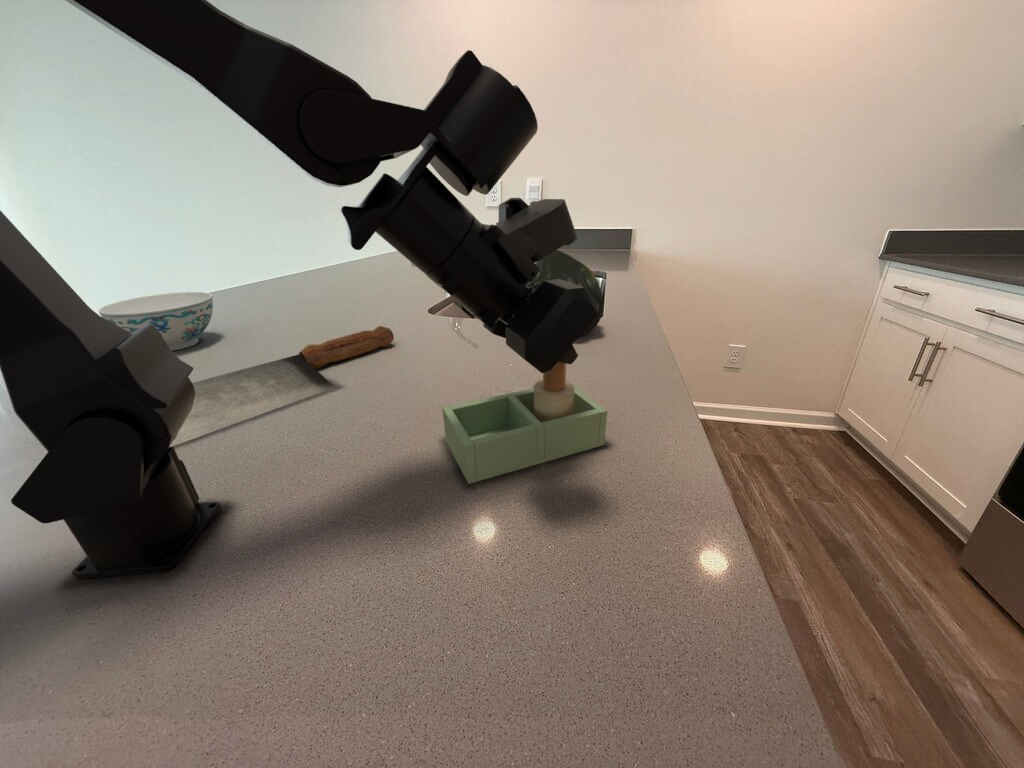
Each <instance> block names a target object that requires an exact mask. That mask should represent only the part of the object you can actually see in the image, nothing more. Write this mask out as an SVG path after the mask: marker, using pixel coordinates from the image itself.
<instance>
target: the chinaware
mask: <svg viewBox="0 0 1024 768" xmlns="http://www.w3.org/2000/svg"><path fill="white" fill-rule="evenodd" d="M213 311H214V299H213V295H212V294H211V293H209V292H203V291H181V292H169V293H160V294H152V295H146V296H139V297H134V298H128V299H124V300H120V301H115V302H113V303H109V304H107V305H104V306H102V307H100V308H99V309H98V313H99V316H101V317H103V318H104V319H106V320H108V321H110V322H112V323H114V324H116V325H118V326H119V327H121V328H123V329H125V330H127V331H129V332H131V333H133V332H135V331H137V330H138V329H140V328H142V327H143V326H145V325H146V324H153V325H154V326H155V327H156V328H157V330H158V331H159V332H160V333H161V335H162V336H163V338H164V340H165V341H166V343H167V345H168V347H169V348H170V349H171V351H172V352H173V351H177V350H181V349H182V350H183V349H185V348H190V347H192V346H194V345H196V344H197V343H199V336H200V335H202V333H203V332H204V331H205V330H206V329H207V327H208V326H209V324H210V322H211V319H212V316H213Z"/></svg>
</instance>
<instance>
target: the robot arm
mask: <svg viewBox="0 0 1024 768" xmlns="http://www.w3.org/2000/svg"><path fill="white" fill-rule="evenodd" d="M64 1H65V2H67V3H68V4H70V5H71V6H73V7H74V8H76V9H78V10H79V11H81V12H83V14H85V15H86V16H89V17H90V18H92V19H93V20H95V21H96V22H97V23H100V24H101V25H103V26H104V27H106V28H107V29H109V30H110V31H112V32H114V34H117V35H118V36H120V37H122V38H123V39H125V40H126V41H128V42H129V43H131V44H132V45H134V46H136V47H137V48H139V50H142V51H143V52H145V53H146V54H148V55H149V56H151V57H153V58H154V59H156V60H158V61H159V62H160V63H162V64H163V65H165V66H166V67H168V68H170V69H171V70H173V71H174V72H176V73H177V74H179V75H180V76H182V77H184V78H185V79H187V80H188V81H190V82H191V83H193V84H195V85H196V86H198V87H199V88H201V89H202V90H204V91H205V92H207V93H208V94H210V95H211V97H213V98H215V99H216V100H217V101H218V102H219V103H220V104H222V105H223V106H224V107H225V108H226V109H228V110H229V111H230V112H231V113H233V114H234V115H235V116H236V117H237V118H238V119H239V120H240V121H242V122H243V123H244V124H245V125H247V126H248V127H249V128H250V129H251V130H252V131H254V132H255V133H256V134H257V135H258V136H259V137H261V138H262V139H263V140H264V141H265V142H266V143H267V144H269V145H270V146H271V147H273V149H275V150H276V151H277V152H278V153H280V154H281V155H282V156H283V157H284V158H286V159H287V160H288V161H289V162H290V163H291V164H293V165H294V166H296V167H297V168H298V169H299V170H300V171H301V172H303V173H304V174H305V175H306V176H307V177H309V178H310V179H312V180H314V181H315V182H318V183H320V184H322V185H325V186H326V187H327V186H329V187H333V188H343V187H348V186H353V185H356V184H359V183H361V182H363V181H364V180H365V179H368V178H369V177H371V176H372V175H373V173H375V171H376V169H377V168H378V167H379V165H380V164H381V162H385V161H390V160H394V159H398V158H399V157H402V156H404V155H405V154H408V153H410V152H412V151H414V150H416V149H417V148H419V147H420V146H421V147H422V149H421V150H420V152H419V153H418V154H417V155H416V157H415V158H414V159H413V161H412V162H411V164H409V166H408V167H407V168H406V169H405V170H404V172H403V173H402V174H401V175H400V177H399V178H398V179H396V178H394V177H393V176H392V175H390V174H388V173H386V172H385V173H382V174H381V176H380V178H379V179H377V181H376V182H375V183H374V185H373V186H372V188H371V189H370V190H369V191H368V192H367V194H366V195H365V196H364V198H363V199H362V201H361V202H360V203H359V204H358V205H356V206H355V205H354V206H351V205H350V206H349V205H342V206H340V208H339V211H340V214H341V215H342V217H343V219H344V222H345V225H346V229H347V241H348V243H349V245H350V246H351V247H352V249H353V250H355V251H360V250H362V249H363V248H364V247H365V246H366V244H367V243H368V242H369V241H370V239H371V238H372V237H373V235H374V234H375V233H376V234H377V235H378V236H379V237H381V238H382V239H383V240H384V241H385V242H387V243H388V244H389V245H390V246H392V247H393V248H394V249H395V250H396V251H397V252H398V253H400V254H401V255H402V256H403V257H405V258H406V260H408V262H410V263H411V264H413V265H414V266H415V267H416V268H417V269H419V270H420V271H421V272H422V273H423V274H424V275H426V277H427V278H428V279H429V280H430V281H432V282H433V283H434V284H435V285H436V286H438V287H439V288H441V289H442V290H443V291H445V293H447V294H448V295H449V296H451V301H452V304H453V305H454V306H456V307H457V308H458V309H460V311H462V312H463V313H464V314H465V315H466V316H468V317H469V318H471V319H472V320H474V319H475V318H476V319H477V320H478V321H480V322H481V323H483V325H482V326H483V328H484V329H486V330H487V331H488V332H489V333H491V334H493V335H494V336H498V337H500V338H502V339H503V338H504V339H505V345H506V346H507V347H509V348H510V349H511V350H512V351H513V352H514V353H516V354H517V355H518V356H520V357H521V358H522V359H523V360H524V361H526V362H527V364H529V365H531V366H532V367H533V368H534V369H536V370H537V371H538V372H539V373H541V374H543V373H544V372H547V371H550V370H551V369H552V368H553V367H554V366H555V364H556V363H557V362H562V363H566V365H572V364H574V363H575V361H576V360H577V359H578V357H579V355H578V352H577V351H576V348H575V346H574V343H575V342H576V340H577V339H578V338H579V337H580V336H581V335H582V334H581V333H582V332H583V331H584V329H585V328H586V327H587V326H588V325H589V323H590V322H591V321H592V320H593V319H594V317H595V316H596V315H597V314H598V312H599V304H598V303H597V302H596V300H595V299H594V298H593V297H592V296H591V295H590V294H589V293H588V291H587V290H586V289H585V288H584V287H581V286H578V285H575V284H572V283H569V282H566V281H563V280H561V279H555V280H546V281H543V282H542V283H536V284H534V282H532V280H533V279H534V278H535V277H536V275H537V274H538V273H539V272H540V271H541V270H540V268H539V267H538V266H537V265H536V262H537V261H539V260H541V259H543V258H545V257H546V256H548V255H549V254H551V253H553V252H554V251H556V250H559V249H561V248H562V247H564V246H570V245H572V244H573V243H575V242H576V240H577V239H578V235H577V232H576V229H575V225H574V223H573V220H572V216H571V214H570V211H569V208H568V206H567V202H566V200H565V199H564V198H563V199H562V198H543V199H540V200H532V201H531V202H530V203H529V204H530V205H529V204H527V203H526V202H525V201H524V200H523V199H522V198H521V197H510V198H507V200H504V201H503V202H501V203H499V204H498V221H497V222H496V223H495V224H485V223H482V222H480V220H479V219H478V218H477V217H476V216H475V215H474V214H473V213H472V212H471V211H470V210H469V209H468V208H467V207H466V206H465V205H464V204H463V203H462V202H461V201H460V200H459V199H458V198H457V197H456V195H454V194H453V192H451V190H449V188H448V187H447V186H446V185H445V184H444V183H443V182H442V181H441V180H440V179H439V178H438V177H437V176H436V175H435V174H434V173H433V171H431V170H430V169H429V167H427V166H428V165H430V166H431V168H433V169H434V170H435V172H436V174H438V176H440V178H441V179H443V181H444V182H446V184H448V185H449V186H450V187H451V188H453V190H455V191H456V192H458V193H459V194H461V195H462V196H465V197H468V196H470V194H471V193H472V192H473V191H475V192H477V193H479V194H482V195H484V196H485V195H488V194H489V193H490V192H491V190H493V189H494V187H495V186H496V185H497V183H498V182H499V181H500V180H501V178H502V177H503V176H504V174H505V173H506V172H507V170H508V169H509V168H511V166H512V164H513V163H514V162H515V161H516V159H517V158H518V157H519V155H520V154H521V153H522V152H523V150H524V149H525V148H526V147H527V146H528V144H529V143H530V142H531V140H532V139H533V138H534V137H535V136H536V134H537V132H538V129H539V127H538V119H537V116H536V113H535V110H534V108H533V107H532V105H531V103H530V101H529V100H528V98H527V96H526V95H525V94H524V92H523V91H522V90H521V88H520V87H519V86H518V85H516V84H514V85H513V84H512V83H511V82H510V81H509V80H508V79H507V78H506V77H505V76H504V75H502V73H500V72H499V71H497V70H495V69H494V68H493V67H490V66H487V65H483V63H482V62H481V61H480V60H479V58H478V57H477V55H476V54H475V53H474V51H473V50H466V51H465V52H464V53H463V54H462V55H461V56H460V57H459V58H458V59H457V60H456V62H455V63H454V65H452V67H451V68H450V70H449V71H448V73H447V75H446V78H445V80H444V83H443V84H442V85H441V87H440V88H439V89H438V91H437V92H436V93H435V94H434V96H433V97H432V98H431V99H430V101H429V103H427V104H426V106H425V107H424V108H423V109H421V108H418V107H417V108H416V107H412V106H409V105H408V106H407V105H403V104H399V103H394V102H390V101H386V100H380V99H376V98H372V96H371V95H370V94H369V93H368V92H367V90H365V89H364V88H363V86H361V85H360V84H359V82H358V81H356V80H355V79H353V78H351V77H350V76H348V75H347V74H345V73H343V72H341V71H340V70H339V69H336V68H334V67H333V66H331V65H329V64H328V63H325V62H324V61H322V60H320V59H318V58H317V57H315V56H313V55H311V54H309V53H308V52H307V51H304V50H302V49H301V48H299V47H297V46H296V45H294V44H292V43H289V42H288V41H285V40H283V39H280V38H278V37H276V36H273V35H271V34H269V33H265V32H263V31H261V30H259V29H256V28H254V27H251V26H250V25H247V24H245V23H243V22H242V21H240V20H238V19H237V18H235V17H233V16H231V15H229V14H227V13H226V12H225V11H222V10H220V9H219V8H218V7H216V6H215V5H214V4H212V3H211V2H209V1H208V0H64ZM580 334H581V335H580ZM193 370H194V367H193V366H192V365H190V364H189V363H186V362H185V361H183V360H182V359H180V357H178V356H177V355H176V354H175V352H173V350H172V351H171V349H170V348H169V347H168V345H167V343H166V341H165V340H164V338H163V336H162V335H161V333H160V332H159V331H158V330H157V328H156V327H155V326H154V325H153V324H146V325H145V326H143V327H142V328H140V329H138V330H137V331H135V332H133V333H131V332H129V331H127V330H125V329H123V328H121V327H119V326H118V325H116V324H114V323H112V322H110V321H108V320H106V319H104V318H103V317H102V316H101V315H100V314H98V313H97V312H95V310H94V309H92V308H91V307H90V306H89V305H88V304H87V303H86V302H85V301H84V300H83V298H81V296H80V295H79V294H78V293H77V292H76V291H75V290H74V289H73V288H72V287H71V285H69V283H68V282H67V281H66V280H65V279H64V278H63V277H62V276H61V275H60V273H58V272H57V271H56V269H55V268H54V267H53V266H52V264H50V263H49V262H48V260H47V259H46V258H45V257H44V256H43V255H42V253H40V252H39V251H38V250H37V249H36V247H35V246H34V245H33V244H32V242H30V241H29V240H28V238H26V237H25V235H23V233H22V232H21V231H20V230H19V229H18V227H16V225H15V224H14V223H13V222H12V221H11V220H10V219H9V218H8V217H7V215H5V213H3V212H2V210H1V209H0V373H1V376H2V379H3V382H4V384H5V387H6V391H7V394H8V398H9V400H10V403H11V406H12V409H13V411H14V413H15V415H16V416H17V417H18V418H19V419H20V421H21V422H22V423H23V424H24V426H25V427H26V428H27V429H28V430H29V432H30V433H31V434H32V435H33V436H34V437H35V439H36V440H37V441H38V442H39V443H40V444H41V445H42V447H43V448H44V449H45V451H47V453H46V454H45V455H44V457H43V458H42V459H41V461H39V463H38V464H37V465H36V467H35V468H34V470H32V472H31V473H30V474H29V476H28V477H27V479H26V480H25V481H24V482H23V484H22V485H20V488H19V489H18V490H17V491H16V492H15V493H14V495H13V497H12V498H11V500H10V502H11V504H12V505H13V506H15V507H16V508H18V509H19V510H21V511H22V512H24V513H25V514H27V515H28V516H30V517H31V518H33V519H35V520H36V521H38V522H39V523H41V524H50V523H51V524H52V523H54V522H59V521H64V523H65V524H66V526H67V527H68V529H69V530H70V532H71V534H72V535H73V536H74V539H75V540H76V541H77V543H78V545H79V546H80V548H81V549H82V550H83V553H85V555H86V557H85V558H84V559H83V560H82V561H81V562H80V563H79V564H78V565H77V566H75V567H74V568H73V570H72V571H71V575H72V576H73V578H74V579H77V580H81V579H92V578H103V577H112V576H113V577H116V576H123V575H125V576H126V575H137V574H148V573H157V572H158V573H160V572H167V571H169V570H172V569H173V568H175V567H176V566H177V565H178V564H179V563H180V561H181V560H182V559H183V557H185V555H186V554H187V552H188V551H189V550H190V548H191V547H192V546H193V545H194V544H195V542H196V541H197V539H199V537H200V536H201V535H202V533H203V532H204V531H205V530H206V528H207V527H208V526H209V524H210V523H211V522H212V521H213V519H214V518H215V517H216V516H217V514H218V513H219V511H221V509H222V505H221V503H220V502H219V501H208V502H206V501H205V502H199V501H200V497H199V494H198V492H197V490H196V488H195V486H194V484H193V481H192V479H191V476H190V475H189V472H188V470H187V468H186V465H185V462H184V461H183V460H182V459H180V458H179V456H178V454H177V451H176V449H175V447H174V446H172V447H170V445H171V444H172V442H173V440H174V439H175V438H176V436H177V433H178V432H179V430H180V428H181V427H182V425H183V423H184V421H185V420H186V418H187V416H188V415H189V413H190V411H191V410H192V406H193V403H194V399H195V389H194V386H193V384H192V383H193V382H192V381H191V379H190V377H189V376H190V375H191V373H192V372H193Z"/></svg>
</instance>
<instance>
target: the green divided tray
mask: <svg viewBox="0 0 1024 768" xmlns="http://www.w3.org/2000/svg"><path fill="white" fill-rule="evenodd" d="M573 386H574V404H573V415H570V416H566V417H561V418H557V419H553V420H549V421H545V422H542V423H541V422H540V421H539V420H538V419H537V418H536V417H535V416H534V387H533V388H527V389H523V390H519V391H515V392H512V393H511V392H510V393H506V394H501V395H496V396H490V397H487V398H482V399H476V400H472V401H468V402H463V403H459V404H453V405H450V406H445V407H442V417H443V427H444V435H445V436H444V437H445V442H446V444H447V446H448V448H449V450H450V452H451V454H452V456H453V457H454V460H455V461H456V463H457V465H458V467H459V469H460V471H461V472H462V475H463V477H464V478H465V480H466V482H467V484H468V485H471V484H475V483H478V482H481V481H484V480H487V479H492V478H494V477H498V476H501V475H505V474H509V473H512V472H515V471H520V470H522V469H526V468H529V467H533V466H537V465H540V464H543V463H547V462H550V461H554V460H557V459H561V458H564V457H567V456H571V455H575V454H578V453H582V452H585V451H588V450H589V451H590V450H591V449H595V448H598V447H602V446H605V441H606V429H607V420H608V419H607V418H608V410H607V409H606V408H604V407H603V406H601V405H600V404H599V403H597V401H595V400H594V399H592V398H591V397H589V396H588V395H587V394H585V393H584V392H583V391H582V390H580V389H579V388H577V387H576V386H575V385H573Z"/></svg>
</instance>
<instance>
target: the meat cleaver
mask: <svg viewBox="0 0 1024 768" xmlns="http://www.w3.org/2000/svg"><path fill="white" fill-rule="evenodd" d="M394 338H395V336H394V332H393V331H392V330H391V328H390V327H386V326H381V325H379V326H377V327H376V328H374V329H373V330H362V331H359V332H356V333H351V334H347V335H343V336H339V337H336V338H334V339H329V340H326V341H324V342H322V343H318V344H316V343H315V344H314V343H313V344H307V345H306V346H305V347H304V348H302V349H301V350H300V351H299V352H298V354H296V355H291V356H287V357H283V358H280V359H276V360H273V361H269V362H266V363H262V364H258V365H254V366H250V367H247V368H243V369H239V370H236V371H231V372H228V373H224V374H220V375H216V376H213V377H209V378H204V379H202V380H198V381H193V382H192V384H193V386H194V389H195V399H194V403H193V406H192V410H191V411H190V413H189V415H188V416H187V418H186V420H185V421H184V423H183V425H182V427H181V428H180V430H179V432H178V433H177V436H176V438H175V439H174V440H173V442H172V444H171V445H170V447H174V446H178V445H180V444H182V443H185V442H188V441H191V440H193V439H196V438H199V437H201V436H205V435H207V434H210V433H212V432H216V431H218V430H221V429H224V428H227V427H229V426H231V425H232V426H233V425H234V424H237V423H241V422H243V421H246V420H248V419H251V418H253V417H256V416H260V415H262V414H266V413H268V412H270V411H273V410H276V409H278V408H282V407H284V406H287V405H290V404H293V403H295V402H298V401H301V400H303V399H307V398H308V397H312V396H314V395H317V394H320V393H322V392H325V391H328V390H331V389H333V388H335V385H334V384H333V383H331V382H330V381H329V380H328V379H327V378H326V377H325V376H323V374H322V373H320V371H318V370H319V369H321V368H322V367H323V366H325V365H327V364H332V363H337V362H340V361H344V360H347V359H350V358H353V357H357V356H360V355H363V354H367V353H370V352H373V351H375V350H377V349H378V348H388V347H389V346H390V345H391V344H392V342H393V341H394V340H395V339H394Z"/></svg>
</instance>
